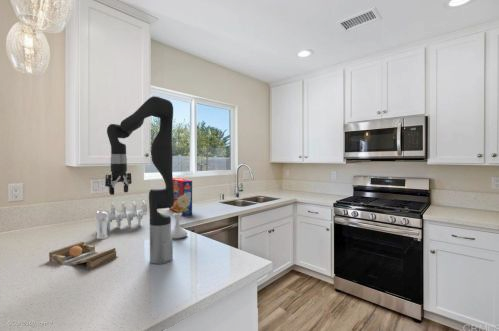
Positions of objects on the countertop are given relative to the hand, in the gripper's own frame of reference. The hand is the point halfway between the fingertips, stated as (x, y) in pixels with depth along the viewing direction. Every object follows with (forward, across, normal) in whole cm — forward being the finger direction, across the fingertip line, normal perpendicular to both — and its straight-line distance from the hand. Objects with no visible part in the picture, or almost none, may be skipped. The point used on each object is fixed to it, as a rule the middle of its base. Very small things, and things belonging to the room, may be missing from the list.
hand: (119, 193), depth 130 cm
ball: (+25, +18, -7) cm, 32 cm away
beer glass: (+28, -6, -20) cm, 35 cm away
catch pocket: (+28, +18, -9) cm, 35 cm away
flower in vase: (+28, -24, +20) cm, 42 cm away
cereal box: (+28, -77, -18) cm, 84 cm away
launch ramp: (+28, +18, +5) cm, 34 cm away
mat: (+28, +18, 0) cm, 34 cm away
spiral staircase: (+28, -26, -24) cm, 45 cm away
